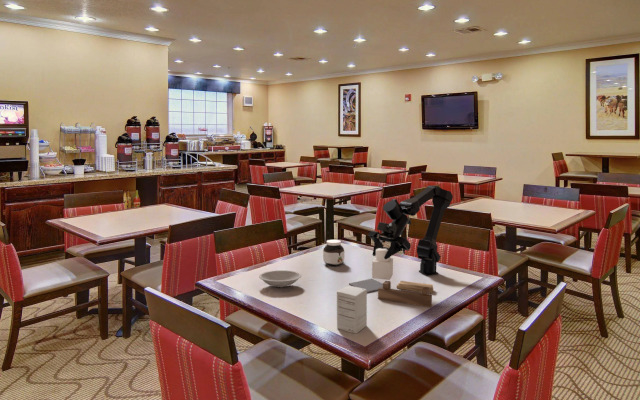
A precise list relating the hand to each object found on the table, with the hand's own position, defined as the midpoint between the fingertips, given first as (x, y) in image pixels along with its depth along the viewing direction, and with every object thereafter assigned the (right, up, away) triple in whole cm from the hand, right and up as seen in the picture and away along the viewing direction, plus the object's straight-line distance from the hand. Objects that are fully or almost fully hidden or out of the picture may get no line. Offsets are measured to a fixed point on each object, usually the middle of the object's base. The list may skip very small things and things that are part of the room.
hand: (379, 257), depth 173 cm
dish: (-40, -13, +6) cm, 43 cm away
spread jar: (-17, -9, +40) cm, 44 cm away
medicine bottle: (+2, -9, +3) cm, 9 cm away
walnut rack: (+8, -15, -10) cm, 20 cm away
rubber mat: (-3, -13, +6) cm, 15 cm away
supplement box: (-13, -19, -33) cm, 40 cm away
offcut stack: (+15, -13, +2) cm, 20 cm away
